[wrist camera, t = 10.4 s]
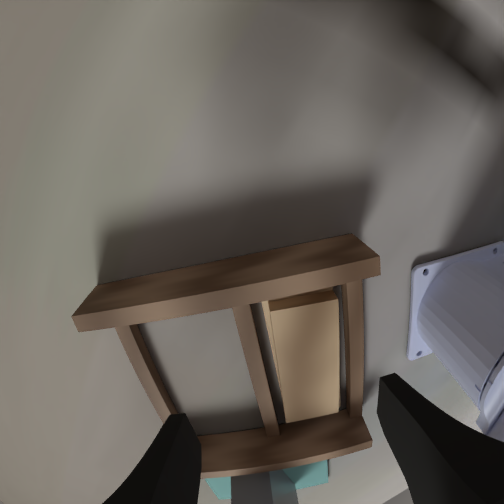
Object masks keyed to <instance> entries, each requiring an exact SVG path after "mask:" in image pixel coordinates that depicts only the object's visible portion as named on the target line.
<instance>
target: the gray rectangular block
mask: <svg viewBox="0 0 504 504" xmlns="http://www.w3.org/2000/svg"><path fill="white" fill-rule="evenodd" d="M231 504H298V498H297V493H296V487H295V484H294V483H293V482H292V480H291V479H290V478H289V477H288V476H287V475H286V474H285V472H284V471H283V470H282V469H281V470H275V471H269V472H262V473H255V474H248V475H239V476H231Z"/></svg>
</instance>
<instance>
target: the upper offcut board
mask: <svg viewBox="0 0 504 504" xmlns="http://www.w3.org/2000/svg"><path fill="white" fill-rule="evenodd" d="M268 306H269V312H270V319H271V326H272V332H273V339H274V346H275V353H276V359H277V366H278V373H279V380H280V387H281V393H282V400H283V407H284V414H285V419H286V423H289V422H295V421H300V420H305V419H310V418H315V417H320V416H324V415H329V414H333V413H337V412H338V411H339V305H338V298H337V296H336V295H335V293H334V291H333V290H330V291H325V292H320V293H314V294H309V295H304V296H298V297H292V298H287V299H281V300H275V301H269V302H268Z"/></svg>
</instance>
